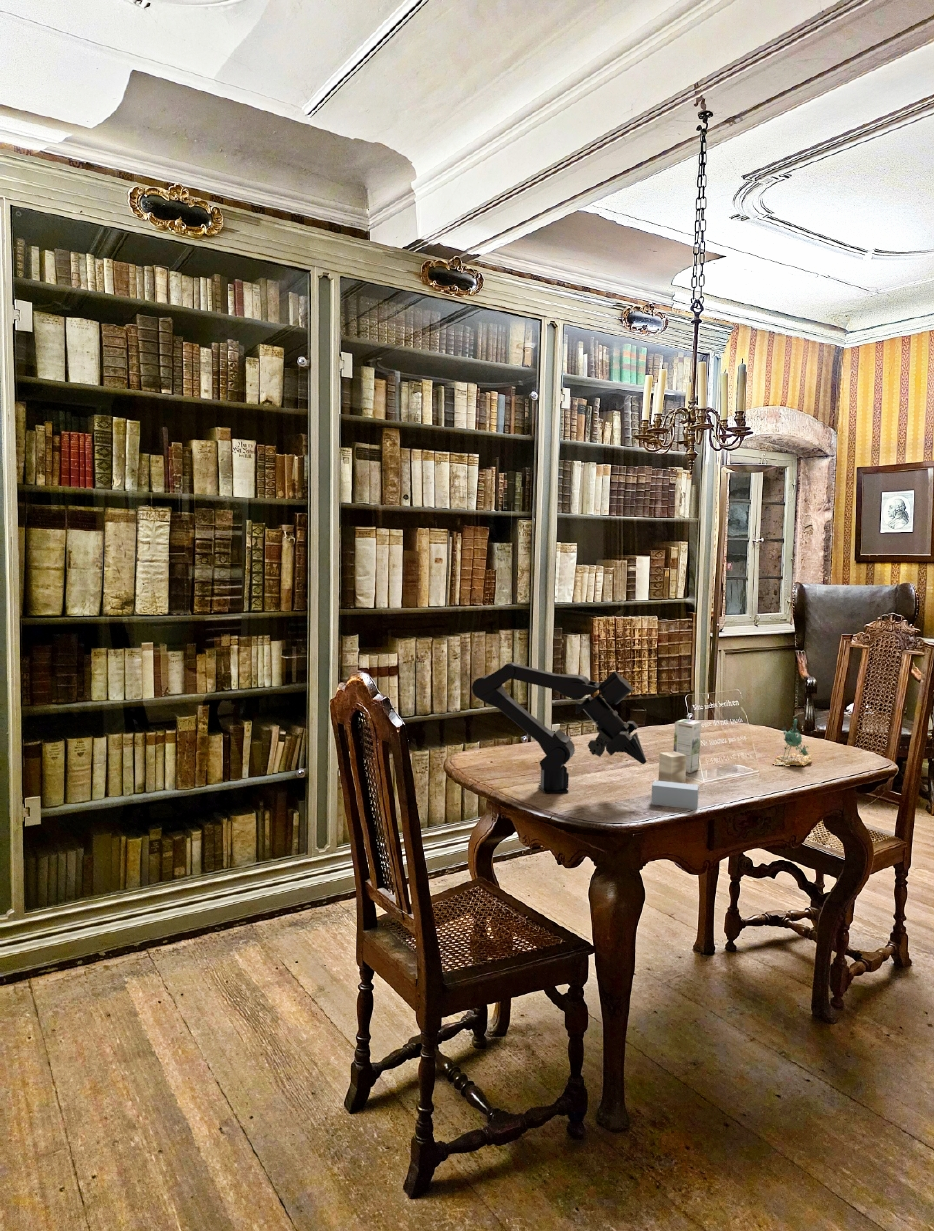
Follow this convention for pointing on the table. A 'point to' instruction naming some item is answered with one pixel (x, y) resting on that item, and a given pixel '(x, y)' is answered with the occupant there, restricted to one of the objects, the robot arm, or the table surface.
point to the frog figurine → (793, 740)
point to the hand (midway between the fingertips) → (644, 763)
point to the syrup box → (688, 742)
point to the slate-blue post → (675, 794)
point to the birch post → (672, 767)
